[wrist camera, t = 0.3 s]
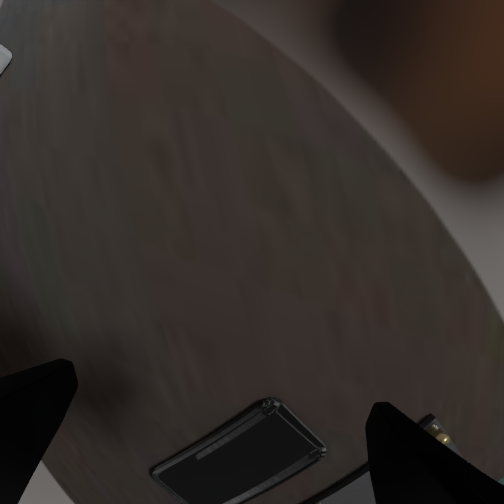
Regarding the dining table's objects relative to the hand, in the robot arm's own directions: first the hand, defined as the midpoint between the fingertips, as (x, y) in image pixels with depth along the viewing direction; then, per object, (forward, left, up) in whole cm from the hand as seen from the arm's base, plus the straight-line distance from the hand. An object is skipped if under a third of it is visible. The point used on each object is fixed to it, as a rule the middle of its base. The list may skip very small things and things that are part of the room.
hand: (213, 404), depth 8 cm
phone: (-11, -9, -16) cm, 21 cm away
